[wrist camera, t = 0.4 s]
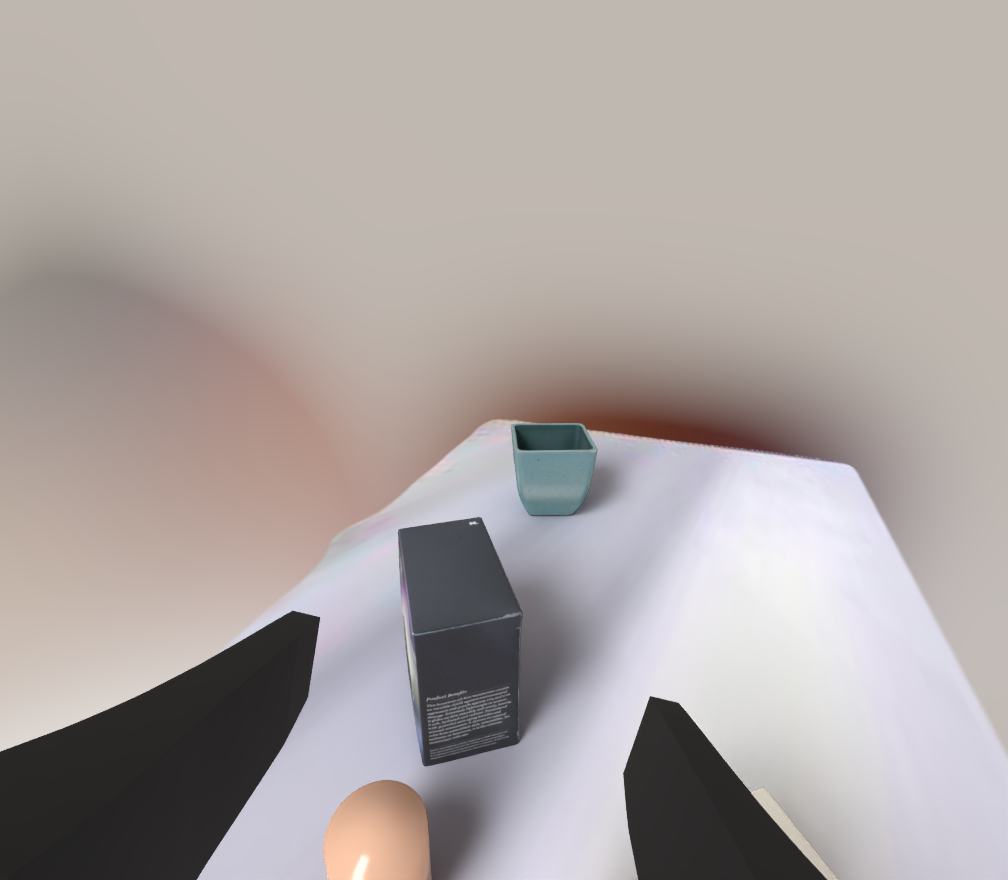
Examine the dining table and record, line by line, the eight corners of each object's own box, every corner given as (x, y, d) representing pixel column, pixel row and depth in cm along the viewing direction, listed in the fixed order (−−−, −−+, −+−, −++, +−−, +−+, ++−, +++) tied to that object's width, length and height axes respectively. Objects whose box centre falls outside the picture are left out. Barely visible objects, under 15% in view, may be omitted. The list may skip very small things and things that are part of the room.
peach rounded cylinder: (423, 962, 21) (417, 895, 19) (322, 958, 21) (306, 891, 19) (438, 846, 25) (434, 781, 23) (353, 843, 25) (343, 778, 23)
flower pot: (509, 488, 62) (510, 422, 59) (578, 488, 63) (583, 422, 59) (512, 525, 54) (514, 450, 51) (591, 525, 54) (598, 450, 51)
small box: (402, 641, 38) (393, 525, 34) (484, 625, 40) (484, 513, 36) (417, 771, 29) (406, 632, 25) (522, 745, 30) (528, 610, 27)
